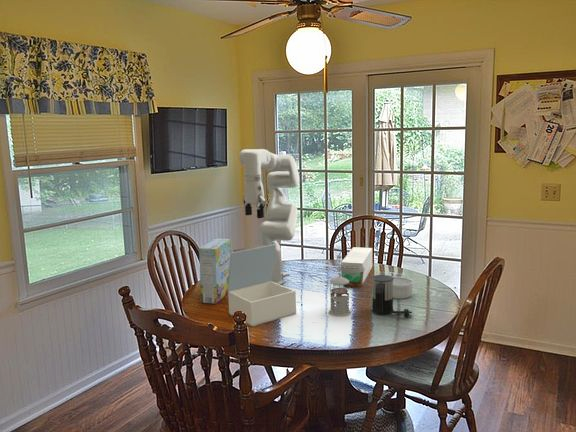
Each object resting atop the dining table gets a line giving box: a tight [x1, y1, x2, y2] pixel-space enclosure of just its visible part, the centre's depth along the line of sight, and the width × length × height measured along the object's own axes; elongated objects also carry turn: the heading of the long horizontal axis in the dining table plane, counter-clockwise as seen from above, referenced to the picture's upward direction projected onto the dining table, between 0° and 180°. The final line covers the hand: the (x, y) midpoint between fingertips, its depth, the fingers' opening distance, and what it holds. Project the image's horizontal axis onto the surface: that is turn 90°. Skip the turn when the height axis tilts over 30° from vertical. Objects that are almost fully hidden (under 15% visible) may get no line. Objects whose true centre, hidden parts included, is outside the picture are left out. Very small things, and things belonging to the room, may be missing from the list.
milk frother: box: [371, 274, 413, 317], centre depth 211 cm, size 14×16×15 cm
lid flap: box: [227, 244, 276, 291], centre depth 220 cm, size 22×18×5 cm
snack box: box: [198, 238, 232, 305], centre depth 238 cm, size 22×9×26 cm, turn 168°
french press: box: [327, 254, 352, 318], centre depth 214 cm, size 10×12×25 cm
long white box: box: [340, 246, 373, 285], centre depth 268 cm, size 32×11×11 cm, turn 162°
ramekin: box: [393, 276, 414, 300], centre depth 234 cm, size 13×13×7 cm
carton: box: [227, 281, 297, 328], centre depth 215 cm, size 22×18×10 cm
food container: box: [340, 264, 365, 289], centre depth 247 cm, size 12×6×10 cm, turn 68°
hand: (254, 216), depth 230 cm, fingers open, 9 cm apart
